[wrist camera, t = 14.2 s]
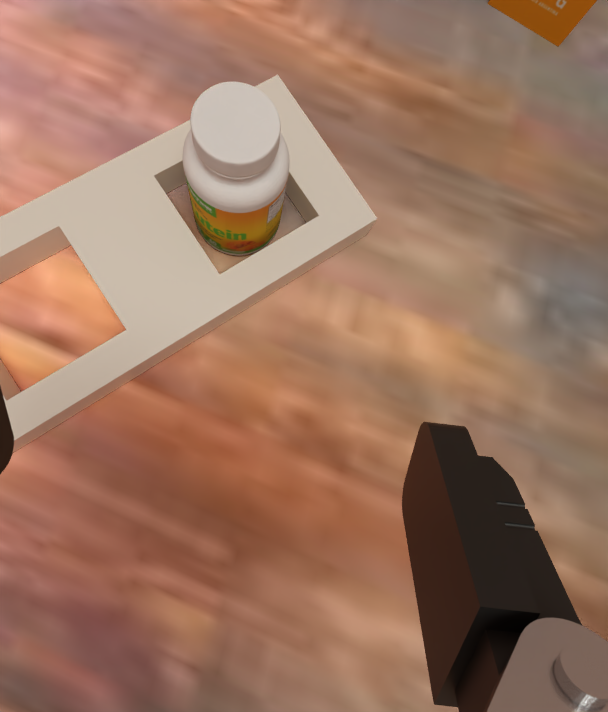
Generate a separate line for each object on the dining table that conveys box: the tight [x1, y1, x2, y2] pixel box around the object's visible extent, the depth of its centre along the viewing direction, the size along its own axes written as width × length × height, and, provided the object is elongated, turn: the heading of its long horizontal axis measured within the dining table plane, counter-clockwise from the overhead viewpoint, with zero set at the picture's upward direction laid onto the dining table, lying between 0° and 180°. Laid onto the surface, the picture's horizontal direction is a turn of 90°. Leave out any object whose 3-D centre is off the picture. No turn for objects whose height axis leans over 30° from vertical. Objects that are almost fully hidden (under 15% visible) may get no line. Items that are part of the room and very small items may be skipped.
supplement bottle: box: [183, 82, 290, 256], centre depth 25 cm, size 5×5×10 cm
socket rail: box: [0, 75, 377, 453], centre depth 28 cm, size 26×11×2 cm, turn 124°
